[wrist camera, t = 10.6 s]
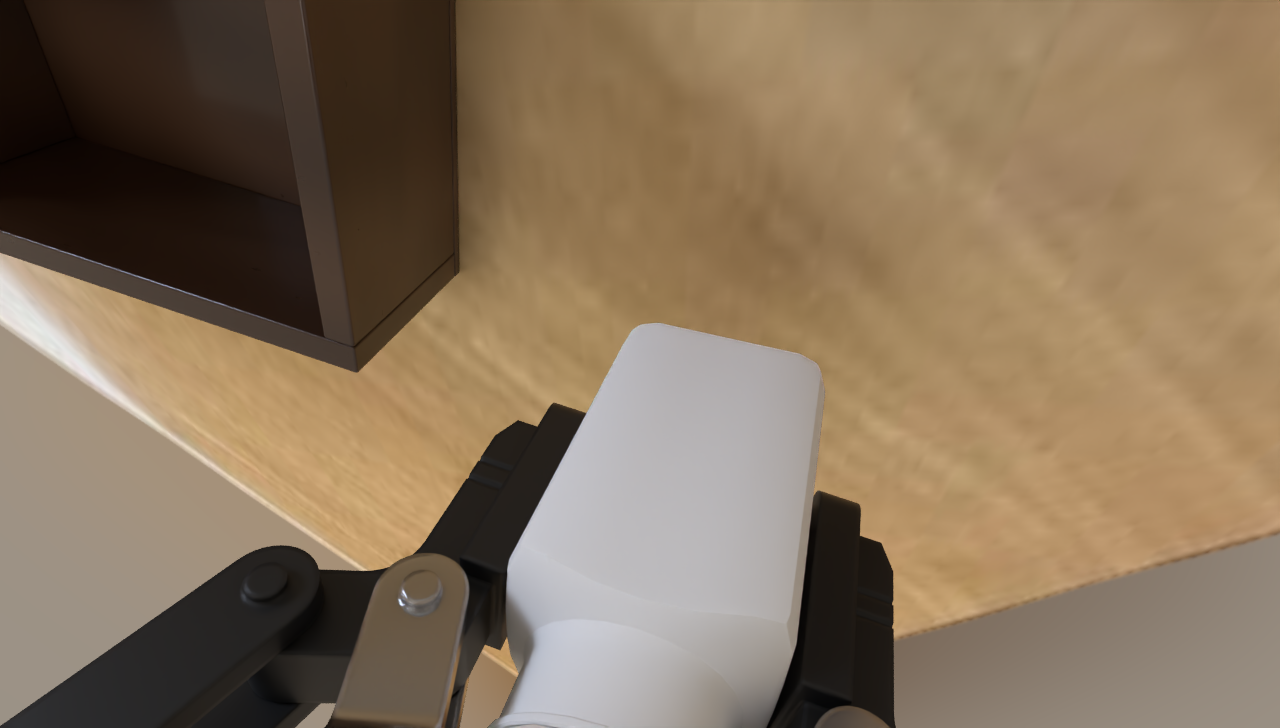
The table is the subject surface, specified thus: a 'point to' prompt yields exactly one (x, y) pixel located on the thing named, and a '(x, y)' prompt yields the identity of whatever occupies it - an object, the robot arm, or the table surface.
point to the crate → (238, 159)
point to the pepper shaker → (670, 542)
